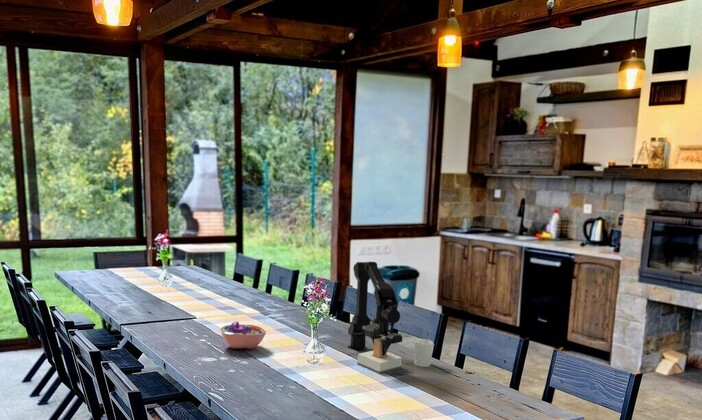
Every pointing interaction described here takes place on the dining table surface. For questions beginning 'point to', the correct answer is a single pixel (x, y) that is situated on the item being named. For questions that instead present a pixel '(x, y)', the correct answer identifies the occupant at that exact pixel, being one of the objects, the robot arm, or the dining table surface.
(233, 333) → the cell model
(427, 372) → the dining table surface
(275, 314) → the dining table surface
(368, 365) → the socket plate
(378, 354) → the plug
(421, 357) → the white cup
